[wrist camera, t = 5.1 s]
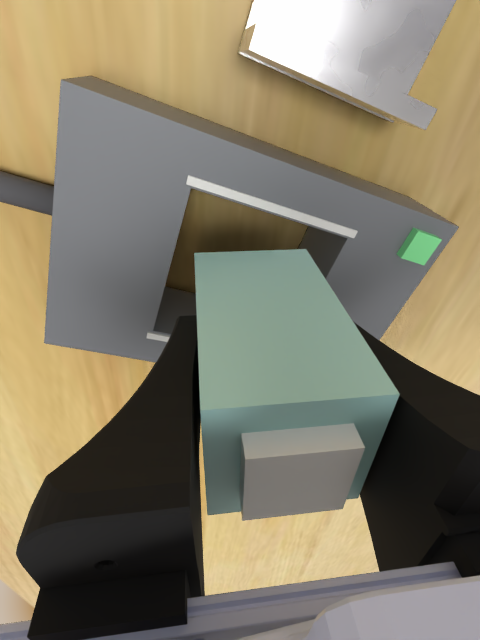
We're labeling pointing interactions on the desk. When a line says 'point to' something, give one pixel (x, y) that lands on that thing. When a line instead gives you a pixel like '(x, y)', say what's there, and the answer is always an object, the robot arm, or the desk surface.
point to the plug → (283, 387)
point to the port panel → (169, 207)
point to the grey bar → (26, 193)
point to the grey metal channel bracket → (350, 49)
